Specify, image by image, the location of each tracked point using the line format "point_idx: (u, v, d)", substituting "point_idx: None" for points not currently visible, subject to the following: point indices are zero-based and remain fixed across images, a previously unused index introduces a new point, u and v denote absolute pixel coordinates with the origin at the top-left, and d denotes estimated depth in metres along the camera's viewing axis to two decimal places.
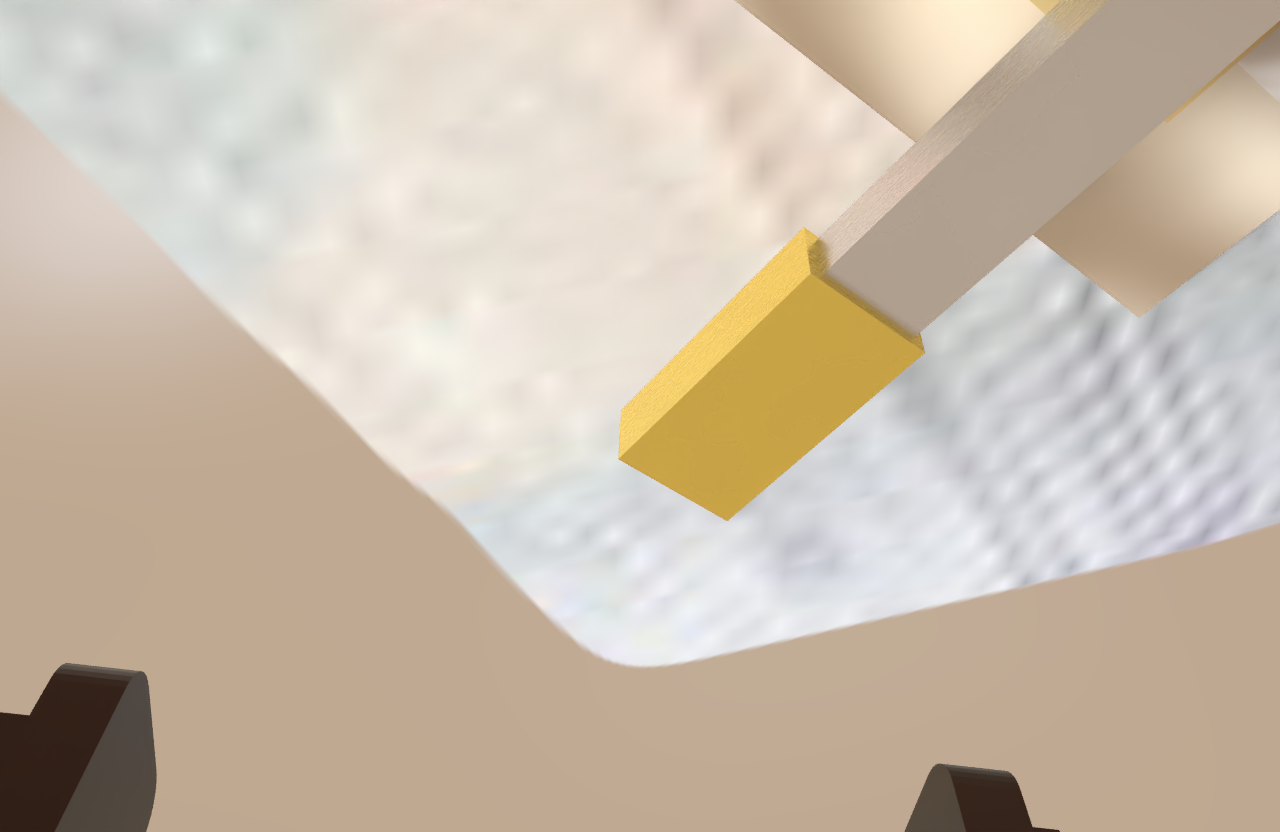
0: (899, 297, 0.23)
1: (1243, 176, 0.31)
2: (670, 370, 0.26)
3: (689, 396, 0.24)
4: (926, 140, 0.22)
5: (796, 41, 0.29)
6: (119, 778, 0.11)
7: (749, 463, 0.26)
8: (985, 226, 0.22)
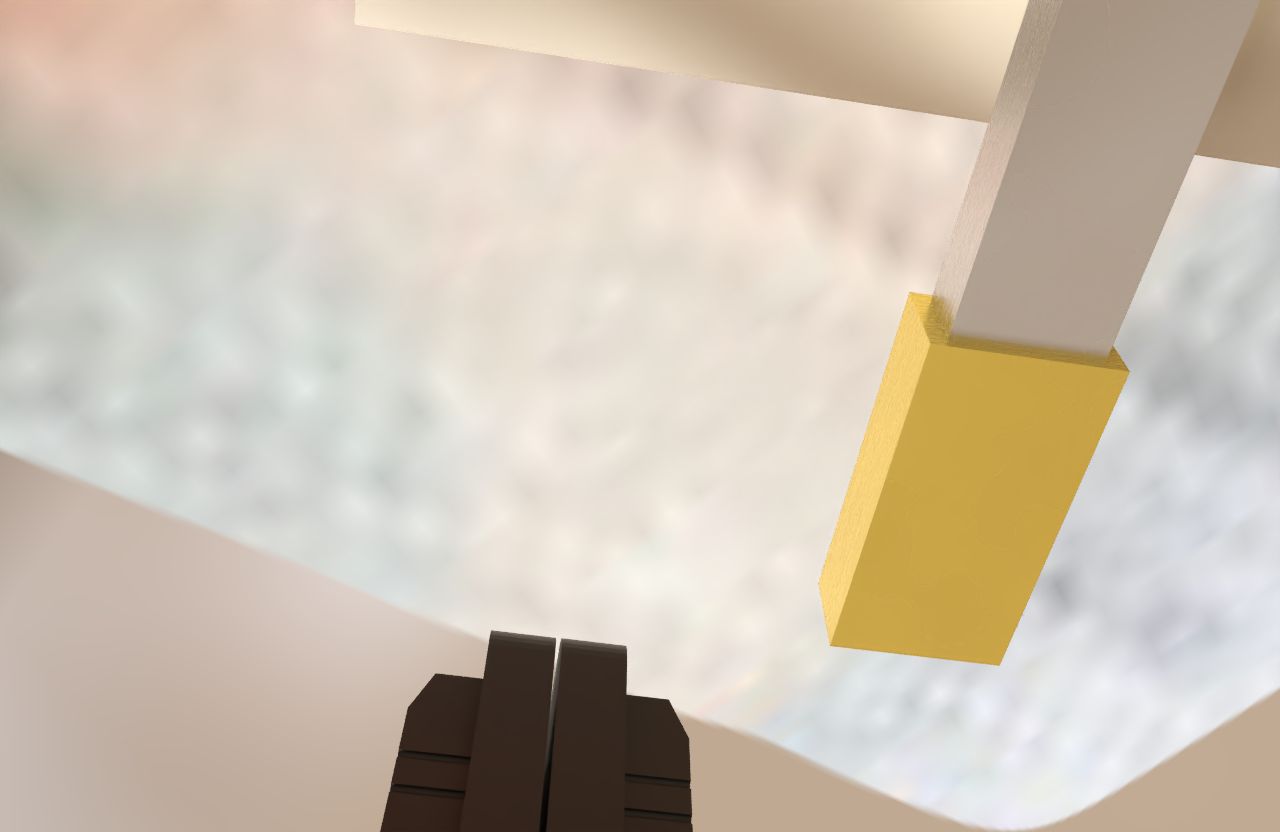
0: (1059, 320, 0.17)
1: None
2: (845, 518, 0.21)
3: (870, 543, 0.19)
4: (994, 124, 0.17)
5: (847, 93, 0.25)
6: None
7: (987, 589, 0.20)
8: (1119, 188, 0.16)
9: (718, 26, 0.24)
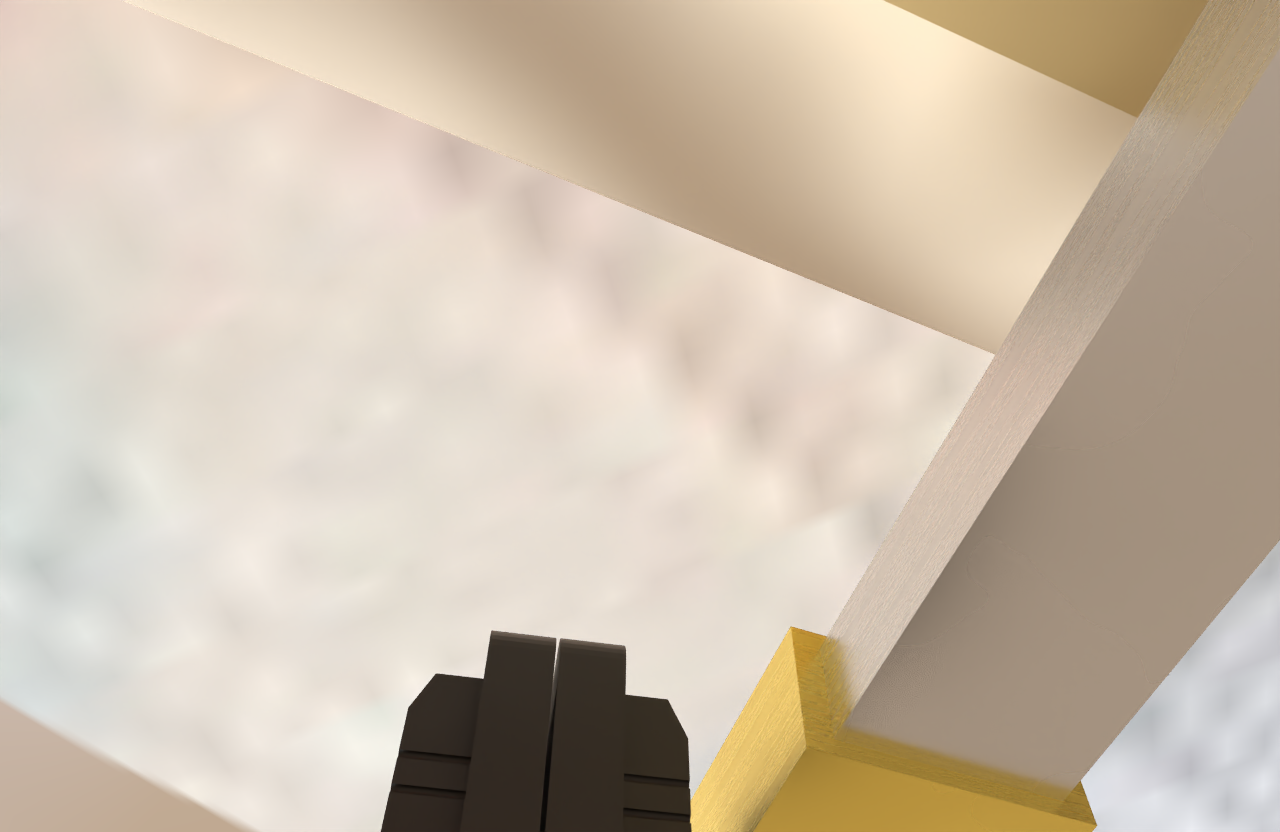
0: (1008, 740, 0.11)
1: None
2: None
3: None
4: (962, 436, 0.10)
5: (736, 239, 0.18)
6: None
7: None
8: (1140, 583, 0.10)
9: (581, 110, 0.17)
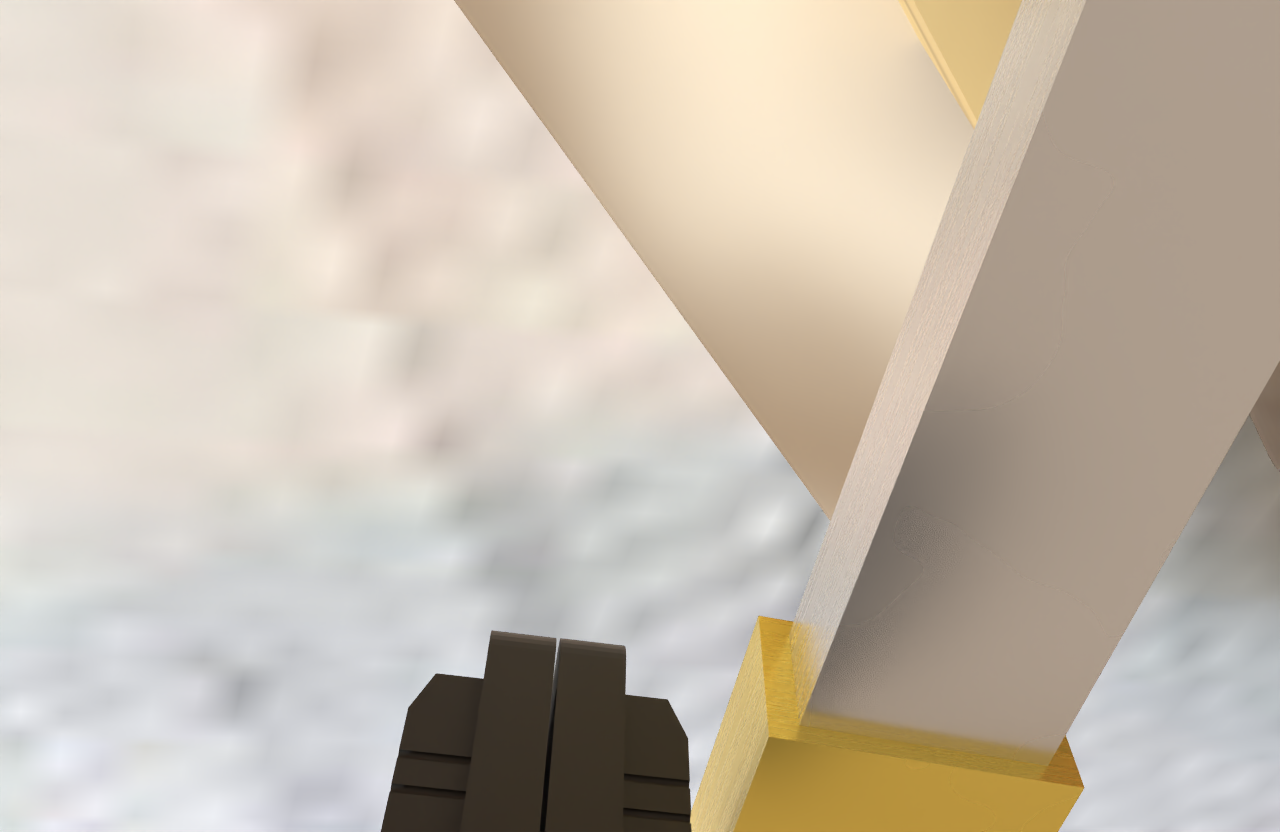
0: (976, 710, 0.11)
1: None
2: None
3: None
4: (881, 407, 0.10)
5: None
6: None
7: None
8: (1076, 537, 0.10)
9: None
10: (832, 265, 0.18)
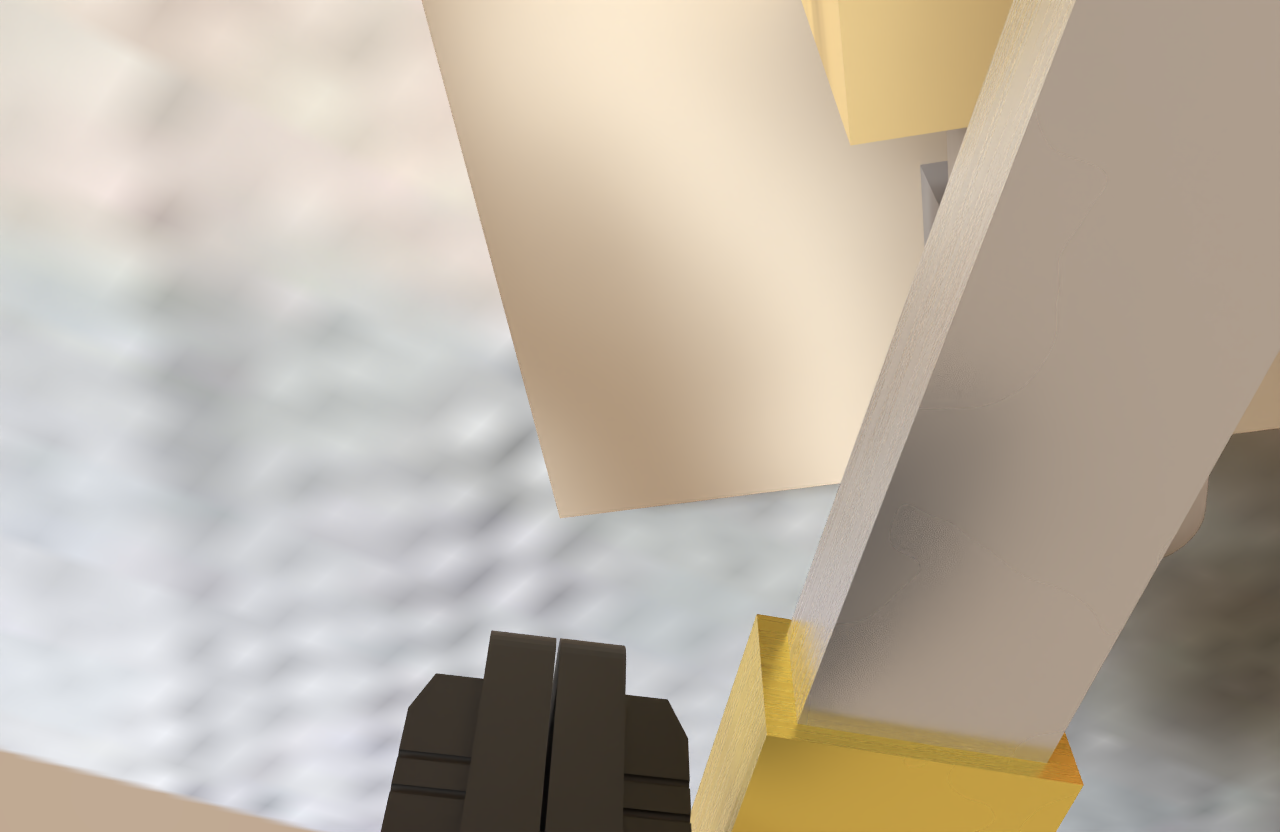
0: (974, 707, 0.11)
1: (806, 409, 0.20)
2: None
3: None
4: (877, 405, 0.10)
5: None
6: None
7: None
8: (1073, 534, 0.10)
9: None
10: (633, 178, 0.18)
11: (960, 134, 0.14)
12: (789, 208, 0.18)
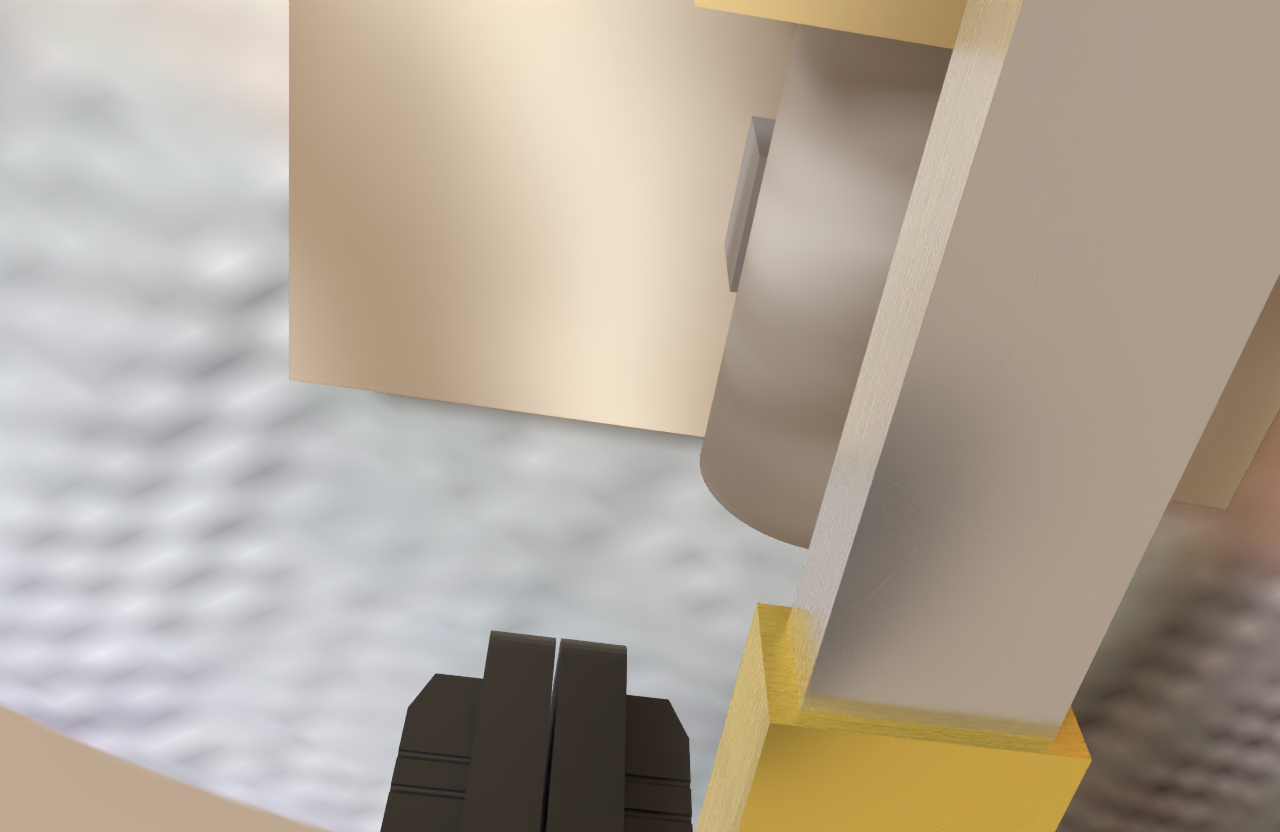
0: (976, 686, 0.11)
1: (574, 335, 0.19)
2: None
3: None
4: (863, 386, 0.10)
5: None
6: None
7: None
8: (1065, 506, 0.10)
9: None
10: (465, 35, 0.17)
11: (801, 68, 0.13)
12: (613, 119, 0.17)
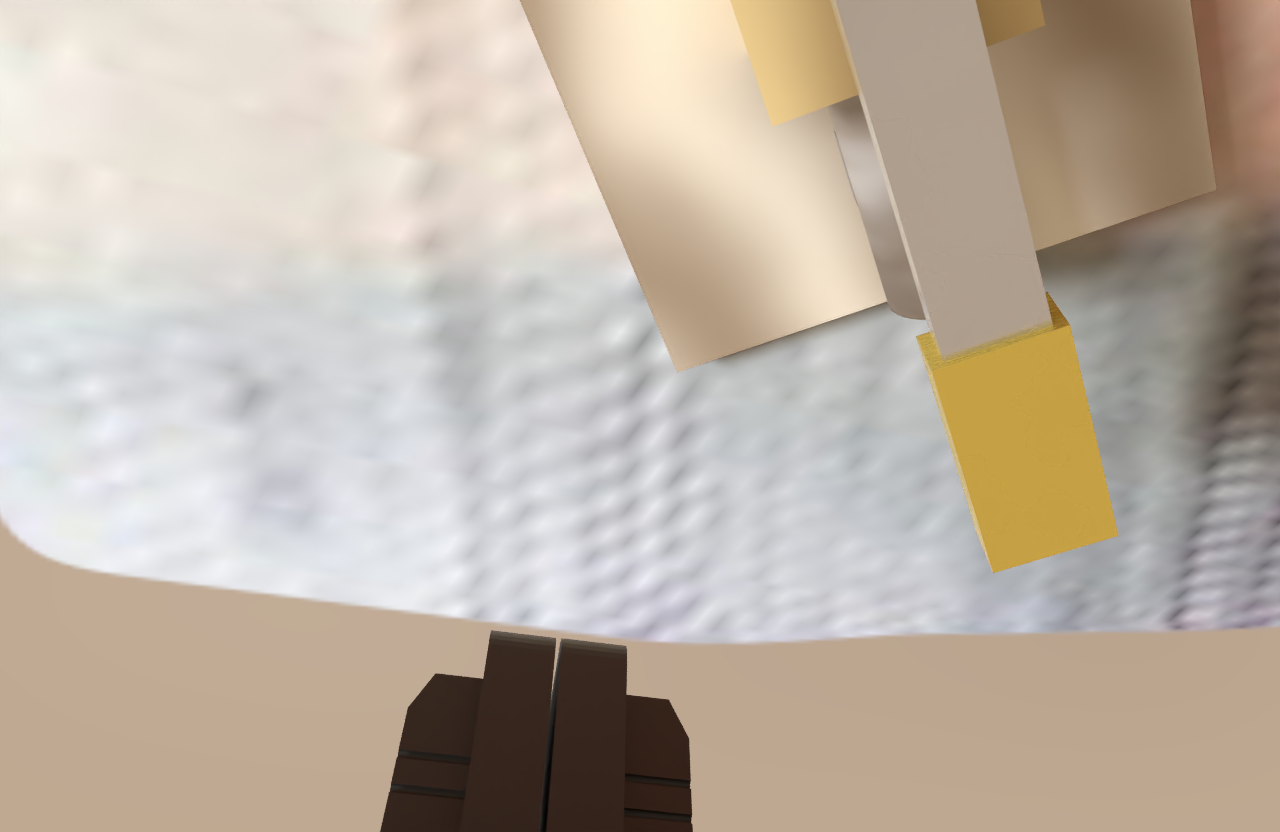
0: (1005, 318, 0.26)
1: (803, 279, 0.35)
2: (963, 486, 0.29)
3: (975, 499, 0.28)
4: (899, 228, 0.25)
5: None
6: None
7: (1073, 492, 0.28)
8: (988, 232, 0.25)
9: None
10: (684, 167, 0.33)
11: (832, 112, 0.29)
12: (769, 167, 0.33)
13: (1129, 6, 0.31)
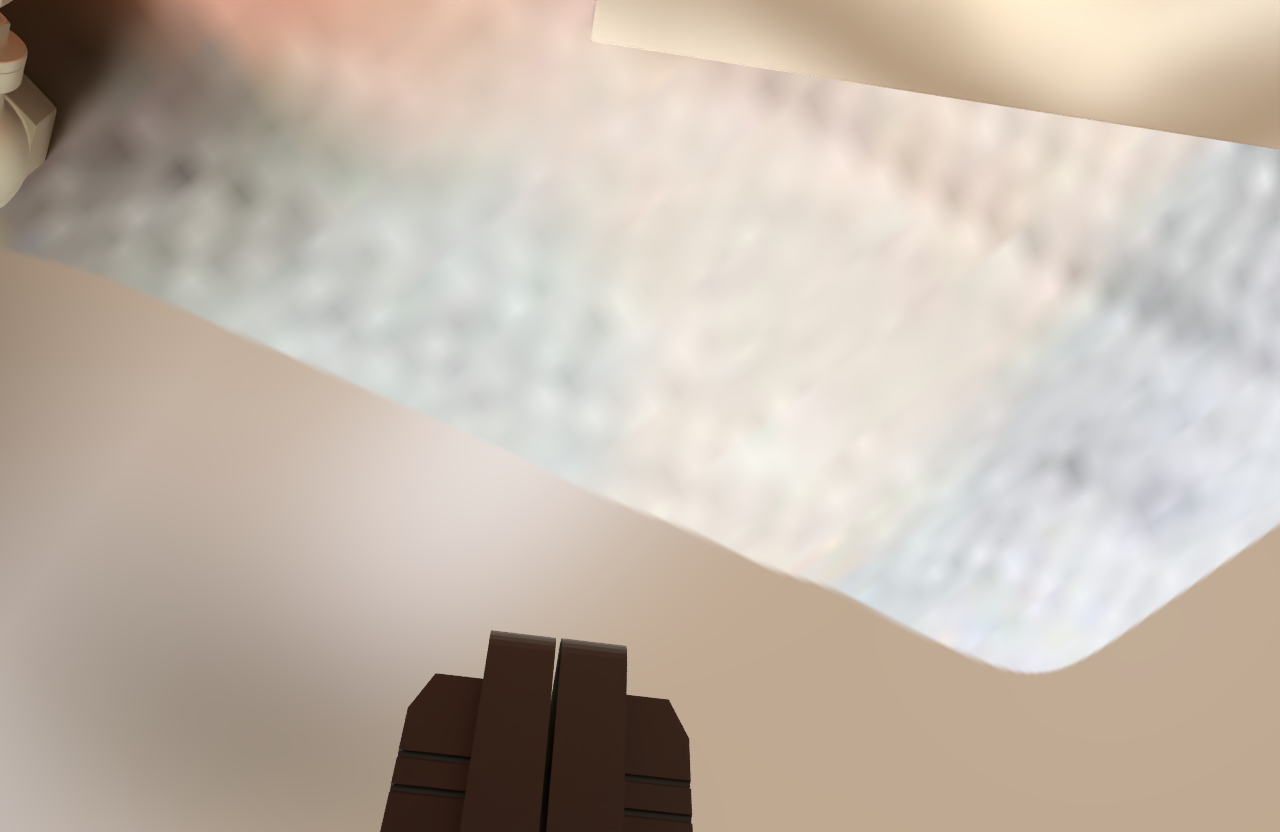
0: None
1: None
2: None
3: None
4: None
5: (927, 88, 0.35)
6: None
7: None
8: None
9: (839, 42, 0.35)
10: (1186, 50, 0.35)
11: None
12: None
13: None
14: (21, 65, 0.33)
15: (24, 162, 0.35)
